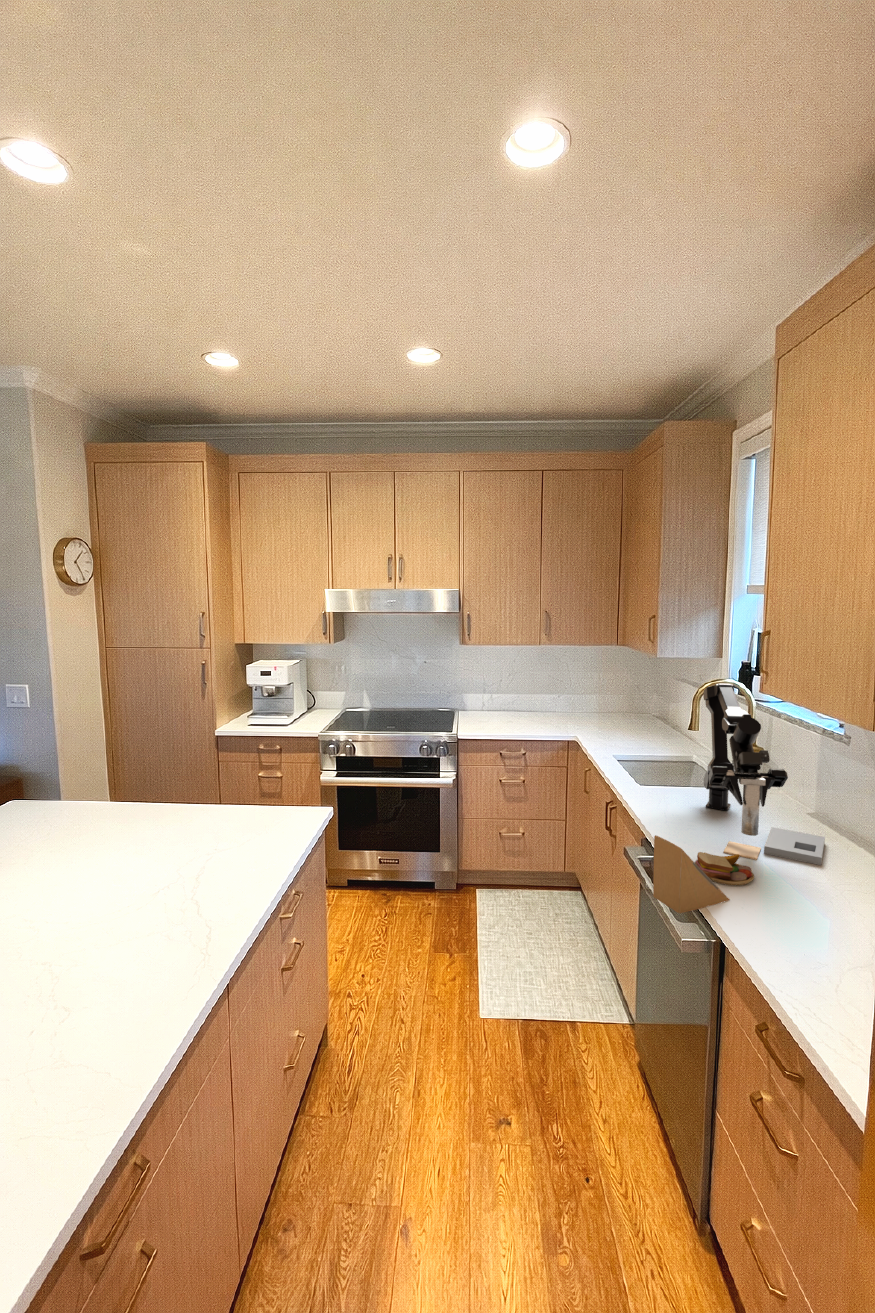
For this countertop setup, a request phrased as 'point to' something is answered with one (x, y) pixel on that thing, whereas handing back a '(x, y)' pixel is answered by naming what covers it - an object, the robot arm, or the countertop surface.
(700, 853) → the toy sandwich meal
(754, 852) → the coaster
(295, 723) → the countertop surface
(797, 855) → the cover plate
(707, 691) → the robot arm
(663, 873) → the sandwich container
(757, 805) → the t key
